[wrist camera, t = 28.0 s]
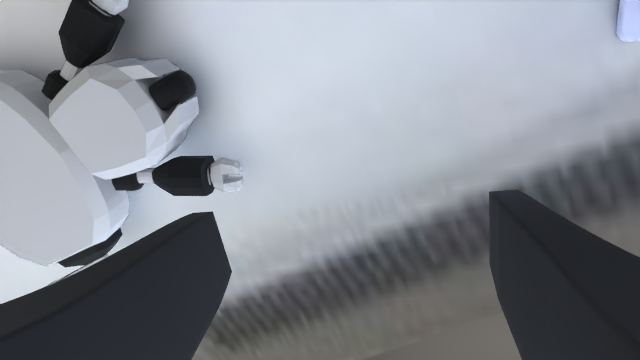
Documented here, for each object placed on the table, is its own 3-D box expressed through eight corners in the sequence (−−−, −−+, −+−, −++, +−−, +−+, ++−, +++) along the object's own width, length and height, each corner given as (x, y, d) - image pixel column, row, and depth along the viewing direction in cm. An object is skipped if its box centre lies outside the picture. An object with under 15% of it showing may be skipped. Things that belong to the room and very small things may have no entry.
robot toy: (141, -48, 19) (-56, 93, 23) (77, -63, 15) (-148, 113, 19) (271, 169, 23) (82, 258, 27) (249, 206, 19) (30, 303, 23)
